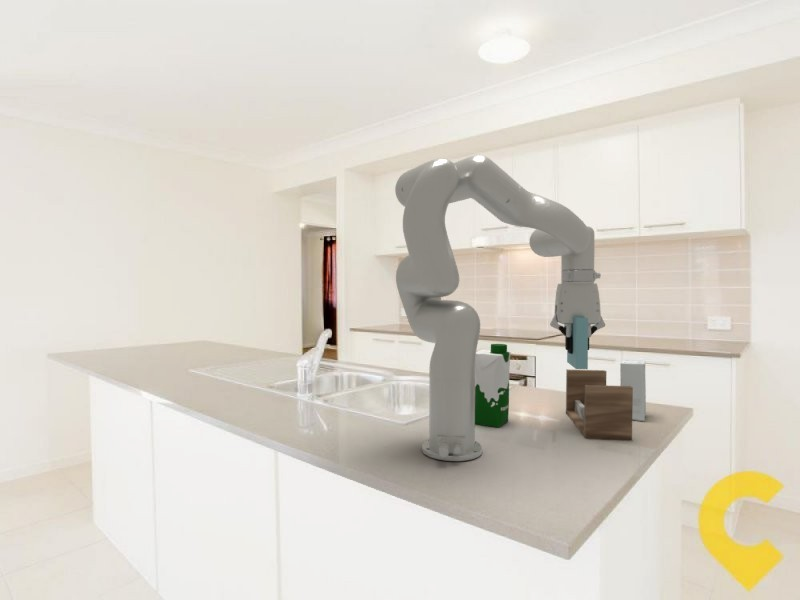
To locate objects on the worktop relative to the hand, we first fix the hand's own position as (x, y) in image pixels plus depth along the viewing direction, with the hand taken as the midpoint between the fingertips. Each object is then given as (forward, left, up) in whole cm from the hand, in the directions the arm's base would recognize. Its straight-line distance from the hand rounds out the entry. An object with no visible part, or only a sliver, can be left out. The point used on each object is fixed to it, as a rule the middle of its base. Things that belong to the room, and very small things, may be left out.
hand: (577, 352), depth 117 cm
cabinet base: (+3, -5, -19) cm, 19 cm away
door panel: (0, 0, -3) cm, 3 cm away
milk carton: (+2, +21, -19) cm, 28 cm away
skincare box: (+13, -17, -19) cm, 28 cm away
